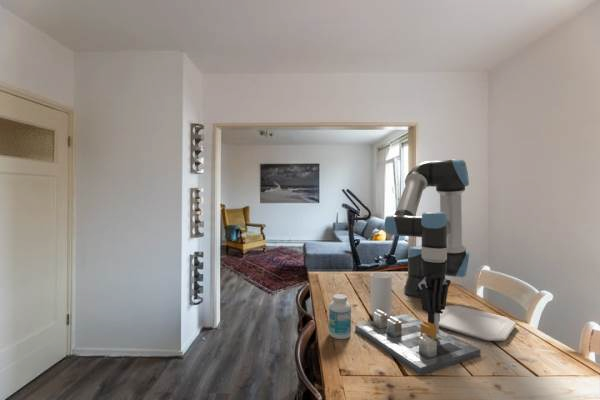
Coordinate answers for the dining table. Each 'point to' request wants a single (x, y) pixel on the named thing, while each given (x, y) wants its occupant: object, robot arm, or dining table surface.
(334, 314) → the pill bottle
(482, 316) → the plate
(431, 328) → the block
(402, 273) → the dining table surface
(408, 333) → the panel
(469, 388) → the dining table surface
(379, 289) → the cup
